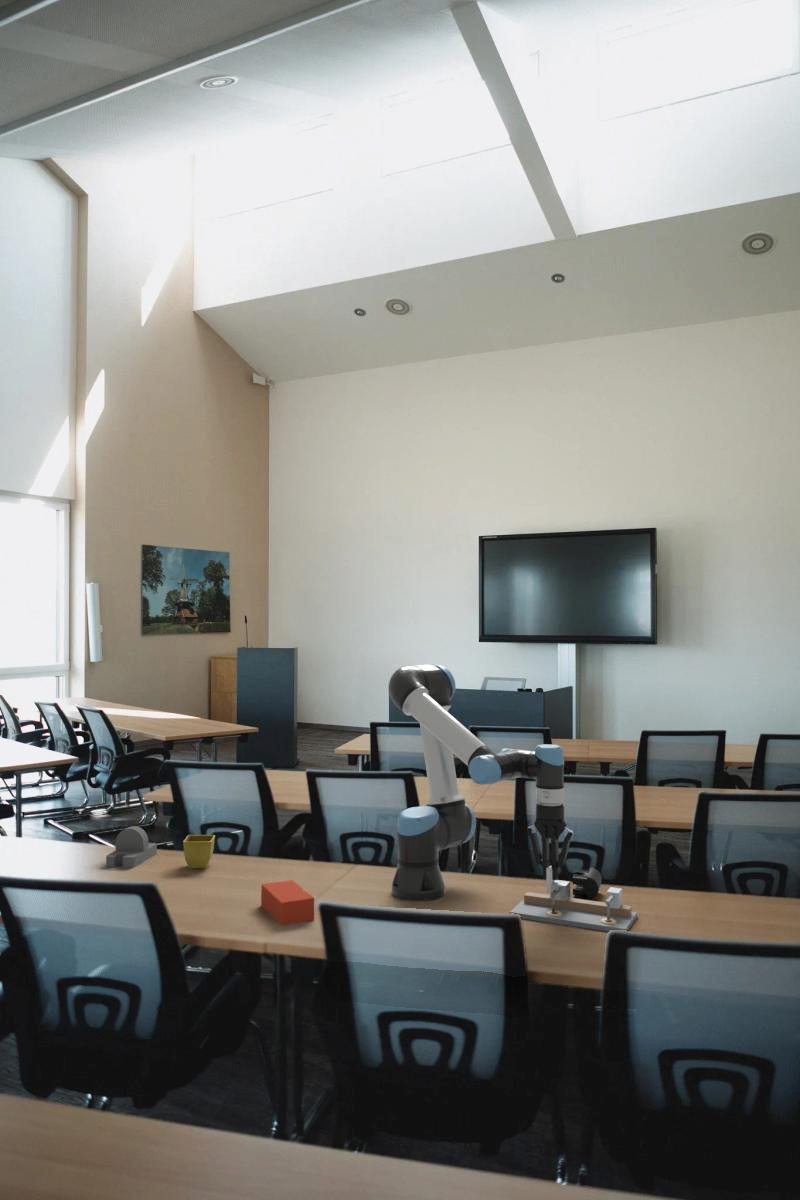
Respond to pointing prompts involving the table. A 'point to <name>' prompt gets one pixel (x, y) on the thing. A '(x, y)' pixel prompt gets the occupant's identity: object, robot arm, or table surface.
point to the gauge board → (578, 911)
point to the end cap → (586, 884)
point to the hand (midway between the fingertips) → (550, 891)
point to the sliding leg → (559, 891)
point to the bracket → (131, 848)
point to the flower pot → (198, 850)
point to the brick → (287, 902)
